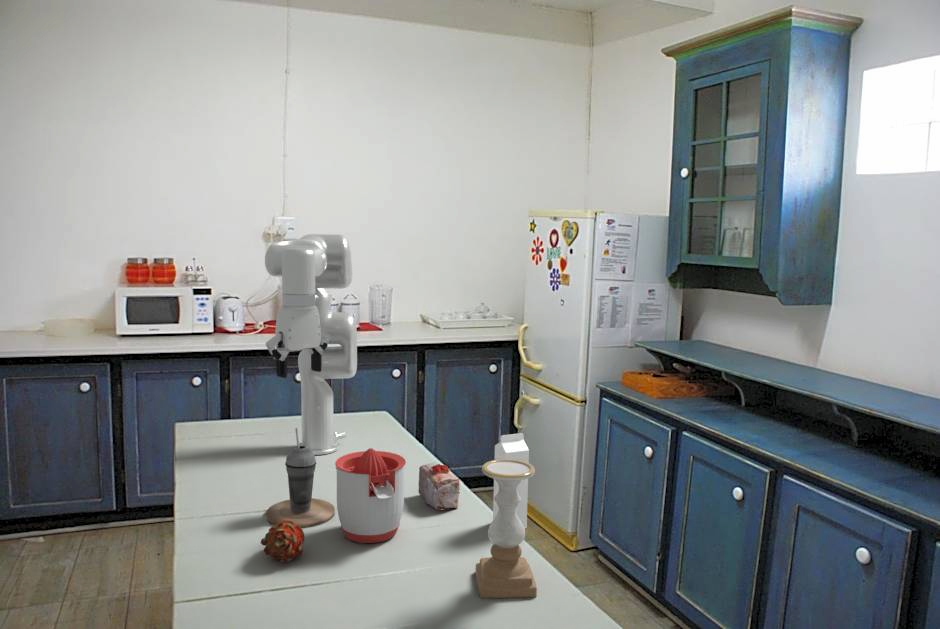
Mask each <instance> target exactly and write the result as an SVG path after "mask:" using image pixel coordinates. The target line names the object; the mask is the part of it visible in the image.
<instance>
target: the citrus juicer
mask: <svg viewBox="0 0 940 629" xmlns="http://www.w3.org/2000/svg"><path fill="white" fill-rule="evenodd" d="M406 463H407V462H406V458H404V457H403V456H402V455H400V454H397V453H395V452H394V453H393V452H389V451H384V450H382V451H380V450H376V449H374V448H372V447H370V448H368V449H367V450H364V451H356V452H350V453H348V454H344V455H342V456H340V457H338V458H336V461H335V464H334V465H335V466H336V467H335V468H336V509H337V515H338V519H339V522H340V527H341V530H342V532H343V535H344V536H345V537H346V538H347V539H348V540H350V541H353V542H356V543H358V544H374V543H380V542H384V541H388V540H390V539H392V538H393V537H395V535H396V534H397V532H398V529H399V526H400V524H401V519H402V515H403V511H404V506H405V465H406Z"/></svg>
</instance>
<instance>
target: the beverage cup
mask: <svg viewBox="0 0 940 629" xmlns="http://www.w3.org/2000/svg"><path fill="white" fill-rule="evenodd" d="M298 430H299V429H298V427H295V436H296V437H295V438H296V446H295V447H293V448H292V449H290V451H289V452H288V453H287V456H286V459H285V462H284V464H285V465H284V466H285V467H286V469H285V470H286V472H287V478H288V481H287V482H288V483H287V484H288V494H289V500H290V505H291V511H292V512H294V513H306V512H308V511H310V506H311V499H312V498H313V489H314V488H313V486H314V478H315V477H314V476H315V472H316V465H317V461H316V460H317V459H316V455H314V453H313V451H312V450H311V449H309V448H308V447H305V446H299V443H300V440H299V432H298Z"/></svg>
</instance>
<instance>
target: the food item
mask: <svg viewBox="0 0 940 629" xmlns="http://www.w3.org/2000/svg"><path fill="white" fill-rule="evenodd" d="M460 486H461V485H460V479H459V478H457V476H455V475H453V473H451V470H450V469H449V467H448V465H447V464H446V465H445V464H440V463H434V462H433V463H426V464H422V465H420V466H419V472H418V494H419V496H421V497H422V498H424V500H425V504H426V503H427V504H426V505H428V504H429V505H428V506H430V507H432V508H434V509H435V511H442V510H441V509H448V508H456V509H458V507H459V497H460V493H461V492H460V491H461V490H460V489H461V488H460ZM448 510H449V509H448Z"/></svg>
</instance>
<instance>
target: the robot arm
mask: <svg viewBox="0 0 940 629" xmlns="http://www.w3.org/2000/svg"><path fill="white" fill-rule="evenodd" d="M352 264H353V263H352V253H351V246H350V243H349V241H348V239H347V238H346V237H345V236H344V235H341V234H328V233H327V234H322V233H320V234H319V233H311V234H310V233H309V234H306V235H303V236H302V237H300V238H295V239H289V240H283V241H276V242H272V243H271V244H270V245H269V246H268V248H267V249H266V251H265V255H264V266H265V270H266V271H267V273H268V275H270V276H272V277H281V307H279V308H278V311H277V315H276V322H275V330H274V331H275V334H274V336H273V337H271V338H270V339H269V340H267V341H266V342H265V346H266V348H267V350H268V353H269V354H270V356H272V358H273V360H275V372H276V376H277V377H279V378H283V379H287V377H288V361H287V360H285V359H286V358H287V356H288V355H289V353H290V352H292V353H293V352H299V354H298V358H297V365H298V370H299V371H298V372H299V377H300V387H301V389H300V393H301V394H300V396H301V401H300V402H301V403H300V404H301V406H300V407H301V408H300V409H301V442H299V446H305V447H308V448H309V449H311V450H312V451H313V453H314V455H315V456H320V455H328V454H333V453H334V452H336V451H337V450H339V443H338V442H337V441H339V439H340V440H341V439H345V438H346V437H347V435H346V432H345V431H342V432H336V431H334V392H333V389H332V387H331V386H330V385H329V383H328V382H327V381H326V380H330V379H331V380H335V379H336V380H337V379H340V380H342V379H345V380H346V379H351V378H354V377H355V375H356V374H357V369H358V338H357V337H358V336H357V334H358V330H357V329H358V328H357V322H356V321H357V320H356V318H355V317H354V315H353V314H352V313H350V312H344V311H343V312H339V311H338V312H334V311H332V297H331V294H330V292H329V291H328V290H327V289H338V290H339V289H341V290H342V289H346V288H348V287H349V286H350V285H351V283H352V280H353V265H352ZM328 345H340V347H339V346H337V347H336V346H330V347H329V346H328Z"/></svg>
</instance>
